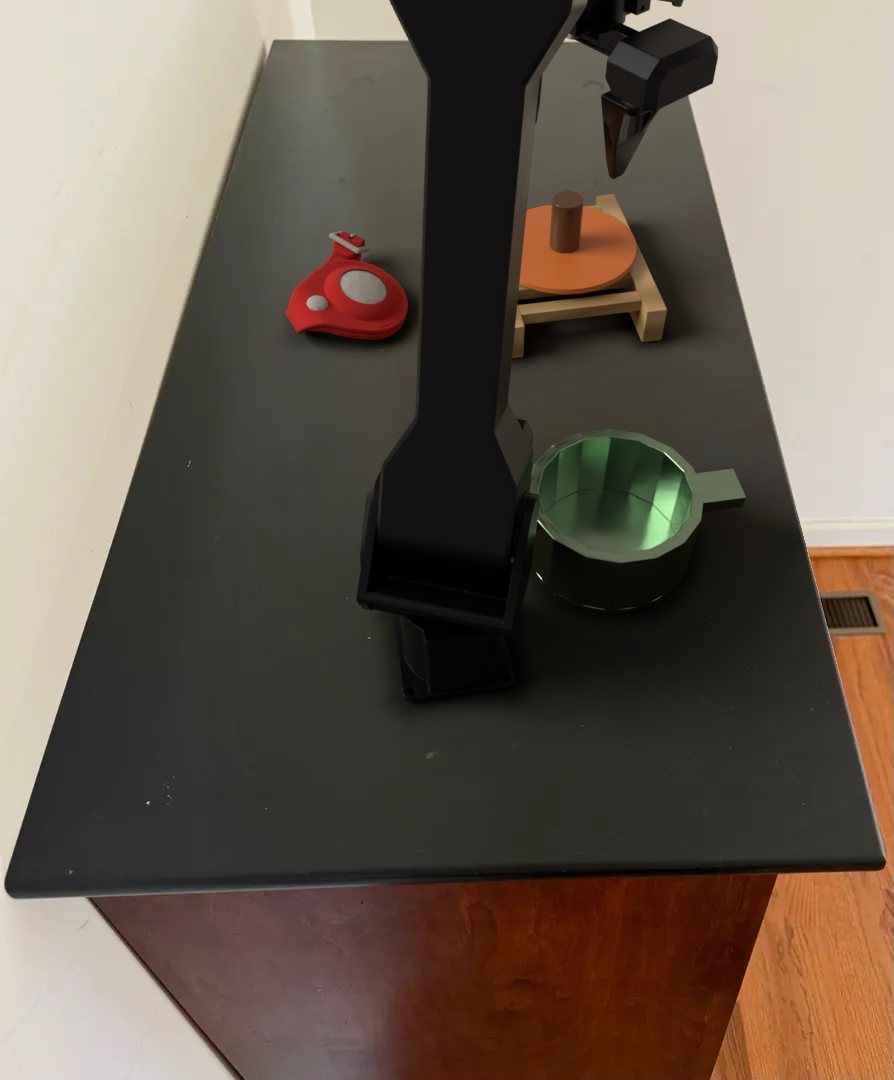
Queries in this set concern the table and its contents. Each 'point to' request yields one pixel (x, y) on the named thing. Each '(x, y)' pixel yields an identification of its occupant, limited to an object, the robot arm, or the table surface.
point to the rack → (600, 297)
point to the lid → (574, 247)
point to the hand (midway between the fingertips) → (571, 150)
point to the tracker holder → (348, 295)
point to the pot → (620, 518)
